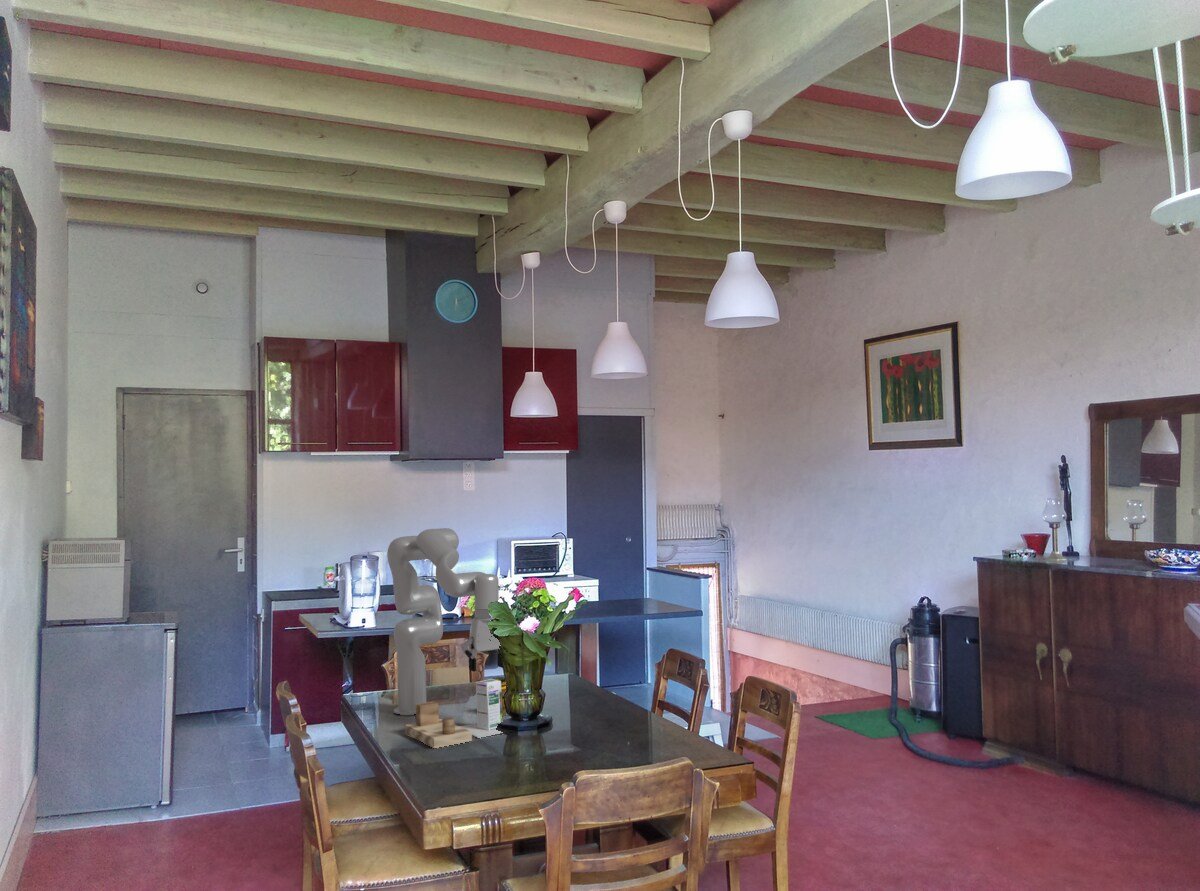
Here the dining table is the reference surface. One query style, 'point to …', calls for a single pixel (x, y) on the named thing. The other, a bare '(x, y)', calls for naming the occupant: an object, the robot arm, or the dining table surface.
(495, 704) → the syrup box
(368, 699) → the dining table surface
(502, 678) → the condiment
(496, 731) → the grey mat
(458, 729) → the wooden frame with peg
